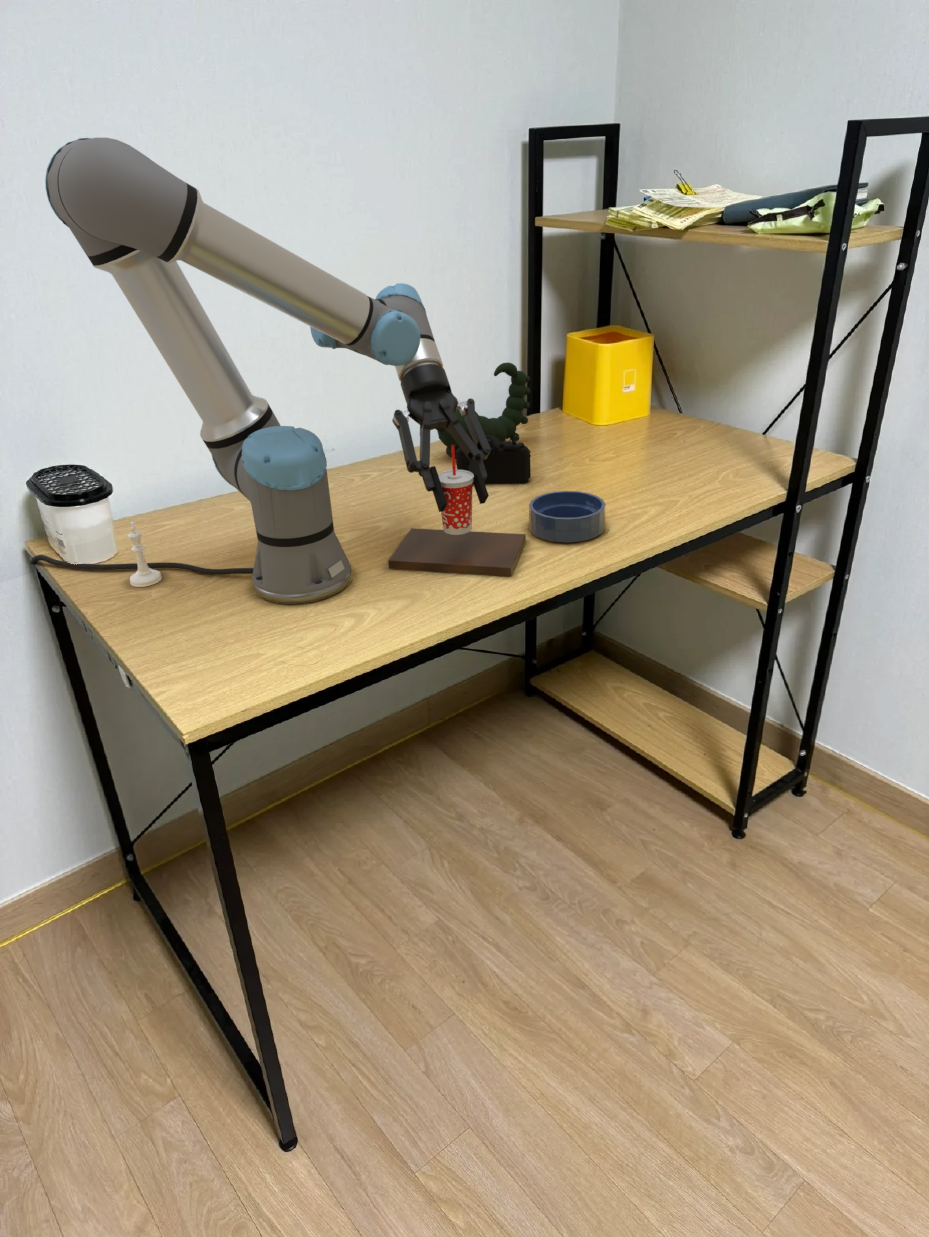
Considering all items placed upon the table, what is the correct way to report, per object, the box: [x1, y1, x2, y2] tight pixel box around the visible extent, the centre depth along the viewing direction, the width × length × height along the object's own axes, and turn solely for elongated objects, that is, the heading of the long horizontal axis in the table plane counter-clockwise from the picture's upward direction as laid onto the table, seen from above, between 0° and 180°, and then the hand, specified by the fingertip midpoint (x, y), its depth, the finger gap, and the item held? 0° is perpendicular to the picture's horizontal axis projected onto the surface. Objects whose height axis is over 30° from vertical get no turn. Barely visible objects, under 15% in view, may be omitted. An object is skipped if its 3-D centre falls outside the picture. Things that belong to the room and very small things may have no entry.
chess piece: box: [127, 521, 163, 588], centre depth 138 cm, size 5×5×10 cm
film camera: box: [455, 435, 532, 485], centre depth 173 cm, size 15×10×9 cm, turn 84°
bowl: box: [528, 490, 607, 543], centre depth 149 cm, size 13×13×4 cm
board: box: [387, 527, 527, 577], centre depth 143 cm, size 20×13×2 cm, turn 77°
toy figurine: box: [434, 362, 531, 460], centre depth 184 cm, size 9×19×25 cm
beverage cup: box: [438, 445, 474, 535], centre depth 137 cm, size 6×6×14 cm
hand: (463, 503), depth 135 cm, fingers closed on beverage cup, 6 cm apart
